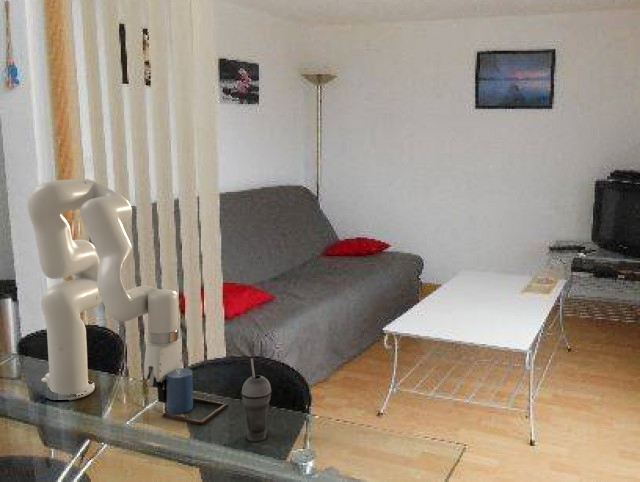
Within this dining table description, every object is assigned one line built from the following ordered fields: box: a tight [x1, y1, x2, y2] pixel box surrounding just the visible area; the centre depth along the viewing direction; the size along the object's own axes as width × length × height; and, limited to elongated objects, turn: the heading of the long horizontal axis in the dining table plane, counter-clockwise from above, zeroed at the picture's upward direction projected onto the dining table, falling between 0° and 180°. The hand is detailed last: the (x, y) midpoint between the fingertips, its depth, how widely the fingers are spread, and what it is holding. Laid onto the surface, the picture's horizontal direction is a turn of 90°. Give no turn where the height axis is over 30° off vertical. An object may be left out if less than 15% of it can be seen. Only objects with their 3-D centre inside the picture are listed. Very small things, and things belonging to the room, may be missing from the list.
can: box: [166, 367, 194, 415], centre depth 162 cm, size 7×7×10 cm
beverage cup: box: [240, 357, 273, 442], centre depth 148 cm, size 7×7×20 cm
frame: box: [162, 396, 229, 426], centre depth 161 cm, size 12×12×1 cm
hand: (164, 401), depth 164 cm, fingers closed
